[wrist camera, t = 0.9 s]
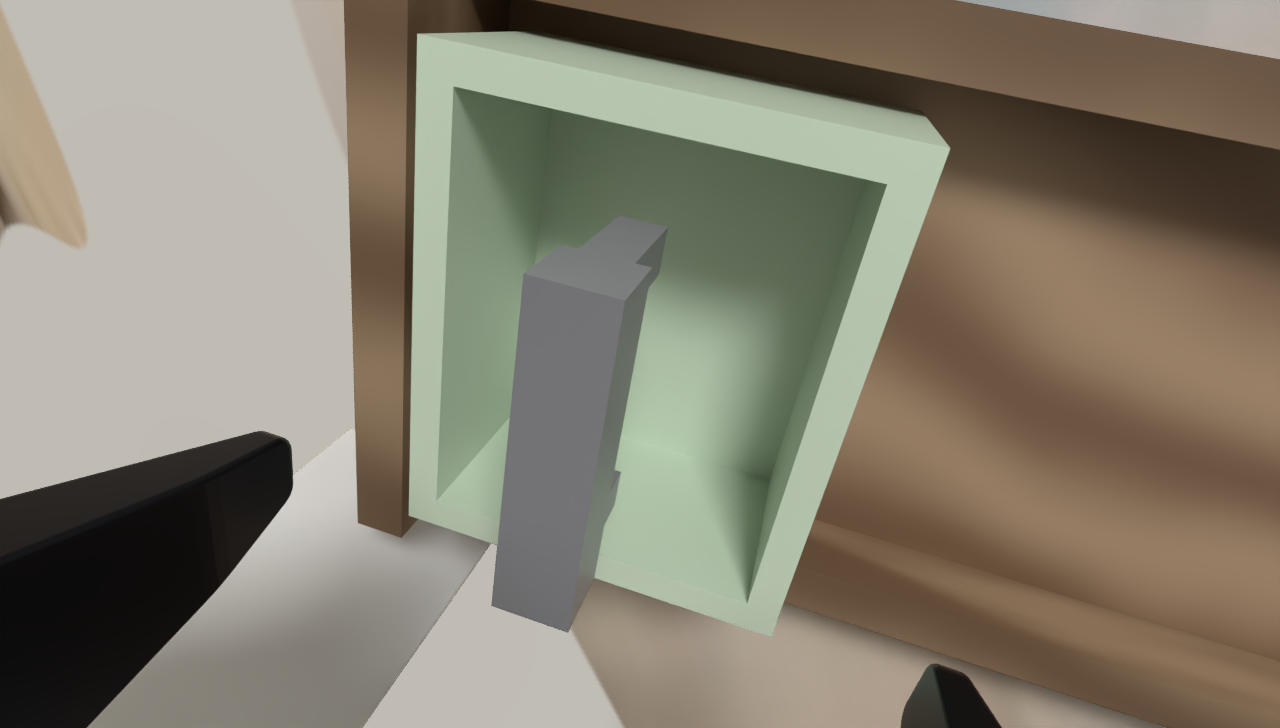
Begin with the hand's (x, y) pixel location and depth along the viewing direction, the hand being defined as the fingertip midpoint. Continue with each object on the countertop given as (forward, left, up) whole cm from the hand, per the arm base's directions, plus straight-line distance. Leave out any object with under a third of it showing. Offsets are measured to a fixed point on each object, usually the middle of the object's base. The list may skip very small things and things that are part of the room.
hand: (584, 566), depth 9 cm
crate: (-1, +1, -12) cm, 13 cm away
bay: (-1, -6, -13) cm, 14 cm away
